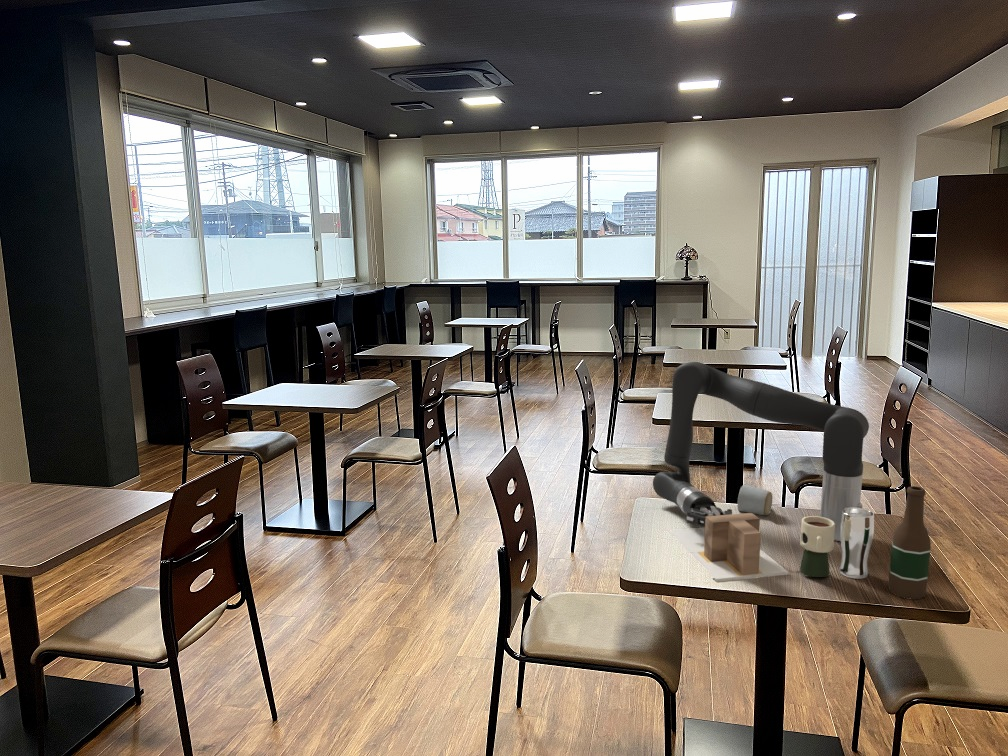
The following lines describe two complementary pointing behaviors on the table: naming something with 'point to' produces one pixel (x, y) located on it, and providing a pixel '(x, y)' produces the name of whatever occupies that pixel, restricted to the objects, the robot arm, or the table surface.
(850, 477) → the robot arm
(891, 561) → the beer bottle
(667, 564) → the table surface
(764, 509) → the grey cylinder
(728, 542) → the t block
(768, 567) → the board
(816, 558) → the character mug
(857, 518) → the beer glass
